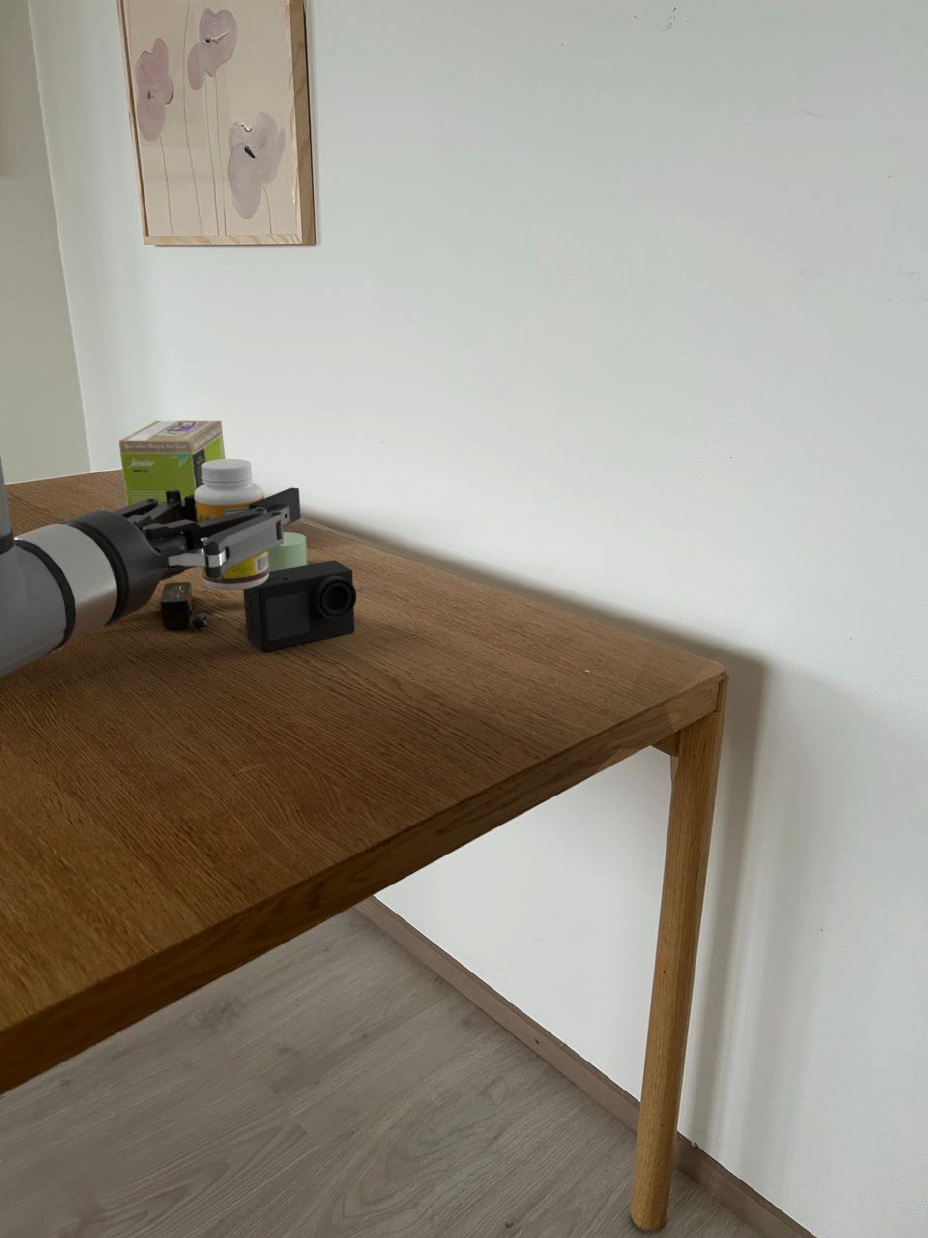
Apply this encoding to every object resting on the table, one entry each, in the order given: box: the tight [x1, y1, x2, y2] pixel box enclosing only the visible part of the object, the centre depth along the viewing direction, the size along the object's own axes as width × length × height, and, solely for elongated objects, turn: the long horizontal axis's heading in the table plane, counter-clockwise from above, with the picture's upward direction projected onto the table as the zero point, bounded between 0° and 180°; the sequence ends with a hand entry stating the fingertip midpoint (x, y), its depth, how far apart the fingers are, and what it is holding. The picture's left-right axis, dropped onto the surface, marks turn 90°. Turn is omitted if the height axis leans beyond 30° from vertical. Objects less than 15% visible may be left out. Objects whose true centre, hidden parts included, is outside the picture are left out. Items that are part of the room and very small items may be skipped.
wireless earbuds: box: [159, 581, 208, 630], centre depth 103 cm, size 5×7×3 cm, turn 11°
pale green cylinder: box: [268, 531, 309, 572], centre depth 116 cm, size 6×6×5 cm
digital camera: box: [242, 559, 357, 653], centre depth 98 cm, size 10×5×7 cm, turn 124°
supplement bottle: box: [194, 458, 269, 591], centre depth 80 cm, size 6×6×10 cm
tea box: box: [118, 420, 226, 533], centre depth 133 cm, size 15×10×15 cm
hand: (264, 499), depth 84 cm, fingers closed on supplement bottle, 6 cm apart
